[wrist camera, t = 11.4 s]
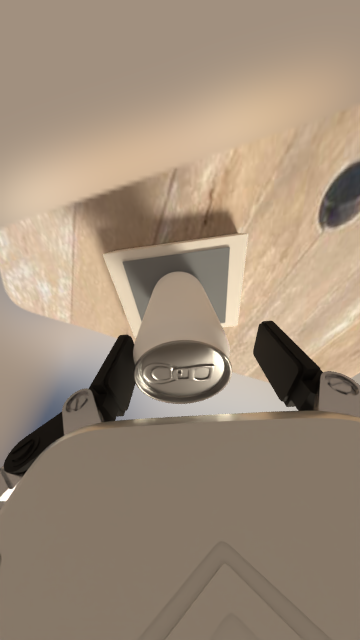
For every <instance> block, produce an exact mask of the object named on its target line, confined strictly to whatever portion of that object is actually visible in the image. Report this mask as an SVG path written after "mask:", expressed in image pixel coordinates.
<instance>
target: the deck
mask: <svg viewBox="0 0 360 640" xmlns="http://www.w3.org/2000/svg"><path fill="white" fill-rule="evenodd" d="M248 235H249V234H244V233H236V234H229V235H222V236H215V237H208V238H201V239H194V240H187V241H180V242H173V243H165V244H158V245H151V246H144V247H137V248H130V249H123V250H116V251H111V252H108V253H105V254H103V257H104V260H105V262H106V265H107V268H108V270H109V273H110V275H111V278H112V281H113V283H114V286H115V288H116V291H117V294H118V296H119V299H120V301H121V304H122V307H123V309H124V312H125V314H126V317H127V320H128V322H129V325H130V327H131V330H132V333H133V335H134V338H135V337H137V334H138V331H139V329H140V326H141V323H142V320H143V317H144V314H145V312H146V309H147V306H148V303H149V301H150V298H151V295H152V292H153V290H154V287H155V285H156V284H157V282H158V281H159V280H160V279H161V278H162V277H163V276H165V275H166V274H169V273H171V272H186V273H189V274H191V275H193V276H194V277H196V278H197V279H198V280H199V282H200V283H201V285H202V287H203V289H204V291H205V293H206V295H207V297H208V299H209V301H210V303H211V305H212V307H213V309H214V311H215V313H216V315H217V317H218V319H219V321H220V323H221V325H222V327H231V326H238V318H239V309H240V301H241V293H242V284H243V276H244V268H245V260H246V251H247V243H248Z"/></svg>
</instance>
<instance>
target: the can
mask: <svg viewBox="0 0 360 640" xmlns="http://www.w3.org/2000/svg"><path fill="white" fill-rule="evenodd" d="M133 358H134V363H135V367H134V371H133V377H134V381H135V383H136V385H137V386H138V388H139V389H140V390H141V391H142V392H143V393H145V394H146V395H147V396H149V397H151V398H153V399H156V400H158V401H162V402H166V403H173V404H187V403H194V402H199V401H203V400H205V399H208V398H210V397H212V396H214V395H216V394H218V393H219V392H220V391H222V390H223V389H224V388H225V387H226V385H227V384H228V382H229V381H230V378H231V375H232V366H231V363H230V361H229V358H230V346H229V342H228V339H227V337H226V334H225V332H224V330H223V328H222V325H221V323H220V321H219V319H218V317H217V315H216V313H215V311H214V309H213V307H212V305H211V303H210V301H209V299H208V297H207V295H206V293H205V291H204V289H203V287H202V285H201V283H200V282H199V280H198V279H197V278H196V277H194V276H193V275H191V274H189V273H186V272H171V273H169V274H166V275H165V276H163V277H162V278H161V279H160V280H159V281H158V282H157V284H156V285H155V287H154V290H153V292H152V295H151V298H150V301H149V303H148V306H147V309H146V312H145V314H144V317H143V320H142V323H141V326H140V329H139V331H138V334H137V337H136V340H135V344H134V349H133Z"/></svg>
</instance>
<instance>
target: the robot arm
mask: <svg viewBox="0 0 360 640" xmlns="http://www.w3.org/2000/svg"><path fill="white" fill-rule="evenodd" d="M133 349H134V343H133V340H132V338H131V336H129V335H120V336H119V337H118V339H117V341H116V342H115V344H114V346H113V347H112V349H111V351H110V353H109V354H108V356H107V358H106V360H105V361H104V363H103V365H102V367H101V368H100V370H99V372H98V374H97V375H96V377H95V379H94V380H93V382H92V384H91V386H90V387H89V389H82V390H79V391H77V392H75V393H74V394H72V395H71V396H70V397H69V398H68V399H67V401H66V402H65V403H64V406H63V409H62V412H61V413H60V414H58V415H57V416H55V417H54V418H53V419H51V420H49V421H48V422H47V423H45V424H44V425H42V426H41V427H39V428H38V429H37V430H35V431H34V432H32V433H31V434H29V435H28V436H26V437H25V438H24V439H22V440H21V441H20V442H19V443H18V444H17V445H16V446H15V447H14V448H13V449H12V451H11V452H10V453H9V455H8V456H7V458H6V460H5V463H4V466H2V467H1V468H0V640H360V385H359V384H358V383H356V382H355V381H354V380H353V379H351V378H349V377H347V376H345V375H343V374H340V373H337V372H331V371H327V372H324V373H323V372H322V371H321V370H320V368H319V367H318V366H317V365H316V364H315V363H314V362H313V361H312V360H311V359H310V358H309V357H308V356H307V355H306V354H305V353H304V352H303V351H302V350H301V349H300V348H299V347H298V346H297V345H296V344H295V343H294V342H293V341H292V340H291V339H290V338H289V337H288V336H287V335H286V334H285V333H284V332H283V331H282V330H281V329H280V328H279V327H278V326H277V325H276V324H275V323H274V322H273V321H263V322H262V323H261V324H259V327H258V332H257V337H256V341H255V346H254V350H253V354H254V356H255V358H256V360H257V362H258V363H259V365H260V367H261V368H262V370H263V372H264V374H265V375H266V377H267V379H268V380H269V382H270V384H271V386H272V387H273V389H274V391H275V392H276V394H277V396H278V397H279V399H280V400H281V401H283V402H284V403H285V405H286V406H287V407H291V406H292V407H294V406H296V408H297V409H298V411H283V412H282V411H281V412H259V413H239V414H219V415H202V416H201V415H200V416H182V417H165V418H149V419H134V420H120V421H115V419H116V416H124V413H125V411H126V410H127V409H128V407H129V403H130V400H131V397H132V393H133V390H134V386H135V381H134V377H133V371H134V367H135V363H134V358H133Z"/></svg>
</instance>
